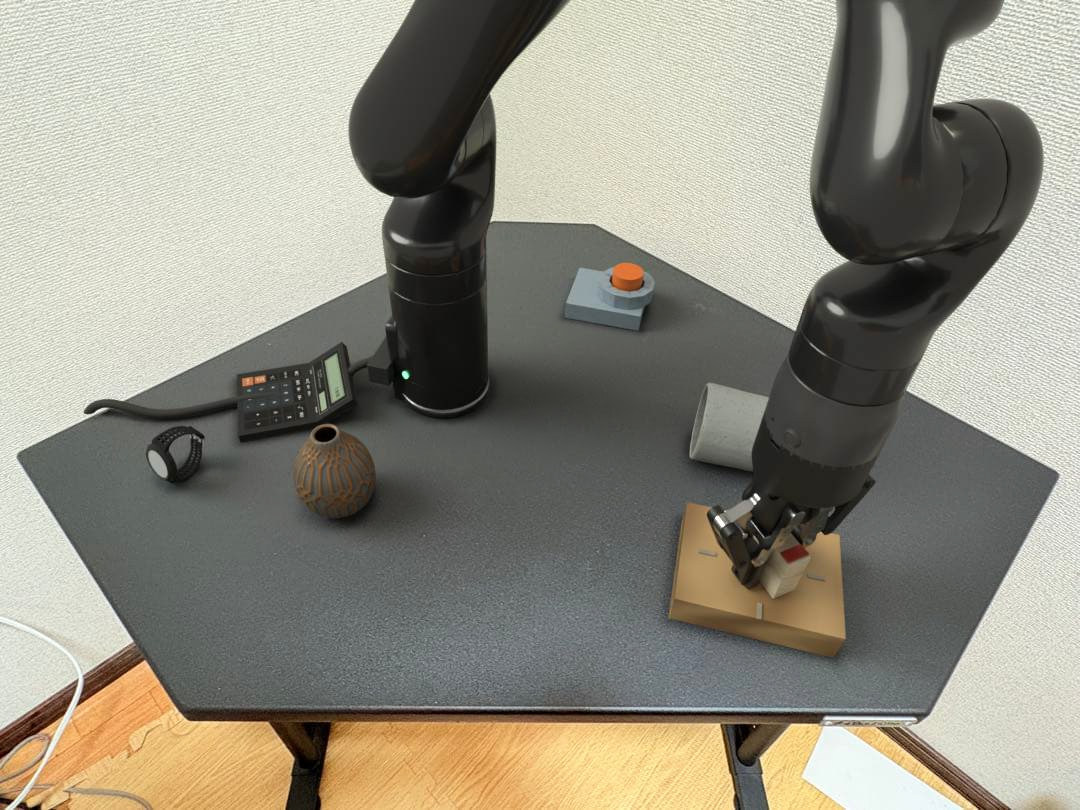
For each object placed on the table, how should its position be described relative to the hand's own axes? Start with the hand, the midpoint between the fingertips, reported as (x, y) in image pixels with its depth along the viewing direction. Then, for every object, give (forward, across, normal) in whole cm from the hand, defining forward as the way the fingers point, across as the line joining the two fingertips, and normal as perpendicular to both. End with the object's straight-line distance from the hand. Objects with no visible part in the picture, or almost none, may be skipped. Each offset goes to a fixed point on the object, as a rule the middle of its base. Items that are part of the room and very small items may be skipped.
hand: (762, 571), depth 59 cm
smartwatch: (+3, +42, -31) cm, 52 cm away
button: (-1, -9, -39) cm, 40 cm away
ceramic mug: (+3, -8, -15) cm, 17 cm away
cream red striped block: (0, 0, -1) cm, 1 cm away
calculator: (+3, +31, -37) cm, 48 cm away
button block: (+3, -7, -41) cm, 41 cm away
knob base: (+3, 0, -1) cm, 3 cm away
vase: (+3, +30, -22) cm, 37 cm away
